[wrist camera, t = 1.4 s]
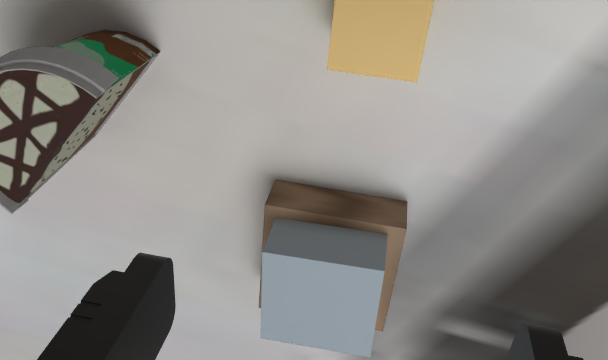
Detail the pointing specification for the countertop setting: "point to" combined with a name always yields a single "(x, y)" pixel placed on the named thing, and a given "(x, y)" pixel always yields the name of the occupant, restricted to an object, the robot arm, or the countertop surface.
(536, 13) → the countertop surface
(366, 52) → the ochre block
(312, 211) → the walnut block
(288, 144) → the countertop surface
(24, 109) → the food container
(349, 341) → the grey block
